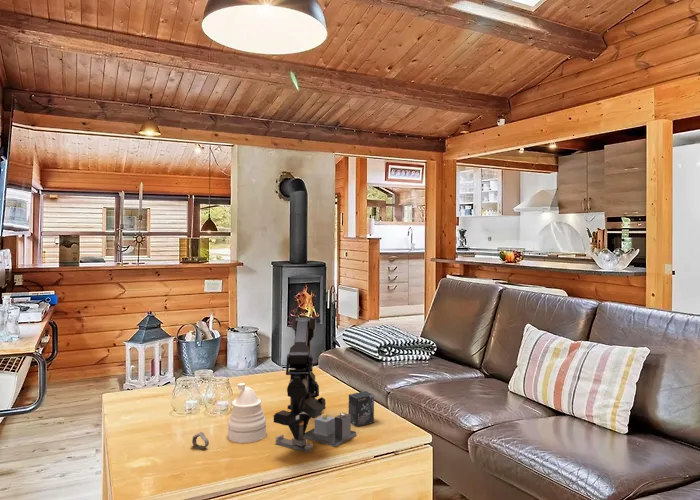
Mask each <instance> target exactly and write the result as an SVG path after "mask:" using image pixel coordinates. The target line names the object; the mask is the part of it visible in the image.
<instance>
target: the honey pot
mask: <svg viewBox="0 0 700 500" xmlns="http://www.w3.org/2000/svg"><path fill="white" fill-rule="evenodd" d="M237 388H238V389H239V390H240V392H239V394H238V395H237V396H236V398H235V399H234V400H232V401H231V406H232V410H231V411H230V415H229V419H228V422H227V439H228V440H230V442H232V443H238V444H248V443H255V442H259V441H261V440H263V439H265V437H266V436H267V419H266V417H265V413H264V409H263V407H262V400H261V399H260V398H258V395H257V394H256V392H255V391H254V390H253V389H252V388H251V387H249V386H246V383H244V382H240V383H237Z"/></svg>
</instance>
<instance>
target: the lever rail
mask: <svg viewBox="0 0 700 500" xmlns="http://www.w3.org/2000/svg"><path fill="white" fill-rule="evenodd" d="M284 437H285V436H284V434H279V435H278V436H277V435H276V437H275V444H276V445H279V446H281V447H285V448H288V449H291V450H294V451H298V452H302V453H304V454H308V453H309V452H311V451H313V443H312V442H309V443H306V445H304V446H302V447H301V446H298V445H295V444H292V439H289V438H284Z"/></svg>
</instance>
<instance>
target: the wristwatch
mask: <svg viewBox="0 0 700 500" xmlns="http://www.w3.org/2000/svg"><path fill="white" fill-rule="evenodd" d="M198 437H200V438H201V439H202V440H203V442H204V445H199V444H198V443H197V440H198ZM191 441H192V445H193V448H195V449H199V450H205V449H207V447H208V446H209V443H210V442H209V439H208V437H206V435H205V433H204V432H202V431H200V432H198V433H196V434H194V435H193V436H192V440H191Z"/></svg>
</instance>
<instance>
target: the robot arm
mask: <svg viewBox="0 0 700 500" xmlns="http://www.w3.org/2000/svg"><path fill="white" fill-rule="evenodd" d="M316 330H317V320H316V319H315V318H313V317H308V316H301V317H300V316H298V317H296V318H293V319H292V331H294V344H293V345H291V346H290V348H289V352H288V353H287V355H286V365H285V367H286V368H285V375H286V376H289V377H290V378H289V382H288V385H287V388H286V392H287V397H288V398H289V399H290V401H289V403H290V404H288V405H287V410H284V409H283V410H280V411H278V412H276V413H274V414H273V423H275V424H279V425H282V426H288V428H289V430H290V432H291V434H292V436H293V438H295V439H296V440H297V439H298V435H299V424H300V423H301V422H302V420H303V421H304V424H303V436H304V434H305V433H306V432H307V431H306V430H307V428H308V424H309V422H310V419H316V418H318V417H320V416H322V414H323V411H324V410H326V408H327V407H326V399H325V398H324V397H323V396H322V397H321V396H320V386H319V384H318V382H317V381H316V375H315V373H313V367H314V357H313V356H312V354H311V353H312V350H311V345H312V344H311V341H312V339H313V338H314V335H315V331H316ZM319 396H320V397H319ZM288 410H290V411H288Z"/></svg>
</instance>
